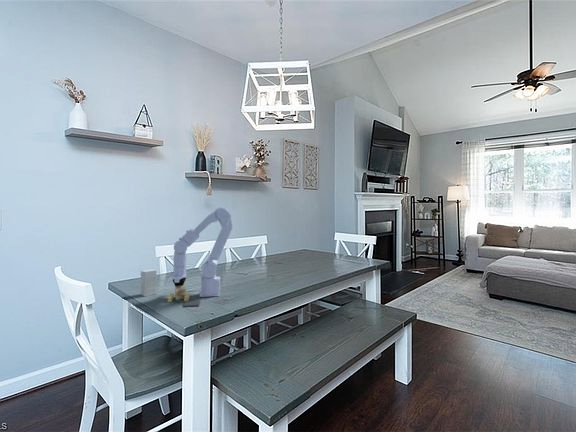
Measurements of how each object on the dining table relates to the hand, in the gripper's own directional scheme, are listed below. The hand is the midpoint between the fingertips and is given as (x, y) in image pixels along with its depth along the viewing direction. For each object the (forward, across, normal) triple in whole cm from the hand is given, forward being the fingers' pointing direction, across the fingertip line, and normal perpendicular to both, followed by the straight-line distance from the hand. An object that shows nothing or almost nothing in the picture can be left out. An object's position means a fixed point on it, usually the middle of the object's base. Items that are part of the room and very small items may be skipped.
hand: (179, 293), depth 142 cm
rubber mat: (+2, +11, +8) cm, 14 cm away
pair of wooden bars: (+2, +4, +1) cm, 4 cm away
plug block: (+1, +2, +1) cm, 2 cm away
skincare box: (+2, -6, -15) cm, 17 cm away
